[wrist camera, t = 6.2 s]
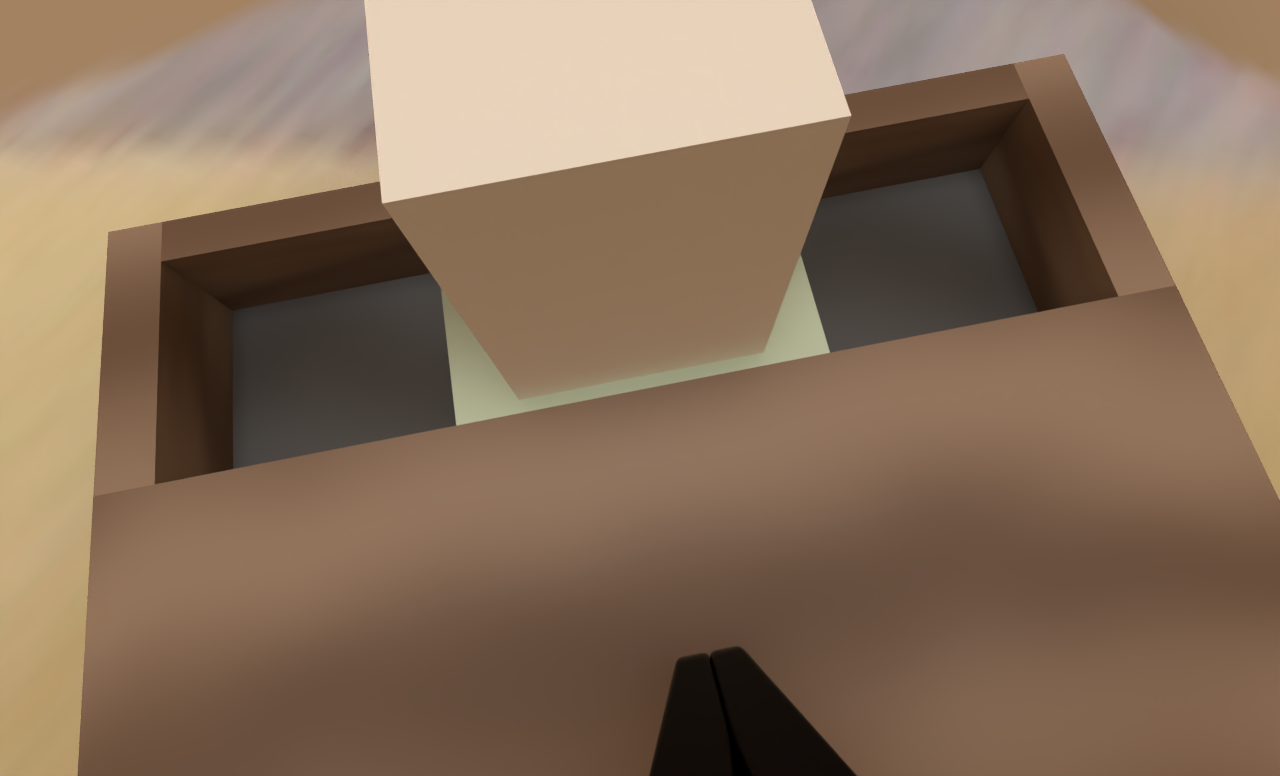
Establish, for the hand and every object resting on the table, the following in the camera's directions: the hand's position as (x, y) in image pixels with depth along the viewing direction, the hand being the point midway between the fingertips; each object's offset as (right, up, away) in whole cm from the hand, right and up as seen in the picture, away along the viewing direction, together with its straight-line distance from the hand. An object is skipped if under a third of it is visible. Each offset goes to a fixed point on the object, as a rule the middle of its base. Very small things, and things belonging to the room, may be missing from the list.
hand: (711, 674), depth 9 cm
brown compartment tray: (0, +1, +7) cm, 7 cm away
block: (-1, +6, +6) cm, 9 cm away
